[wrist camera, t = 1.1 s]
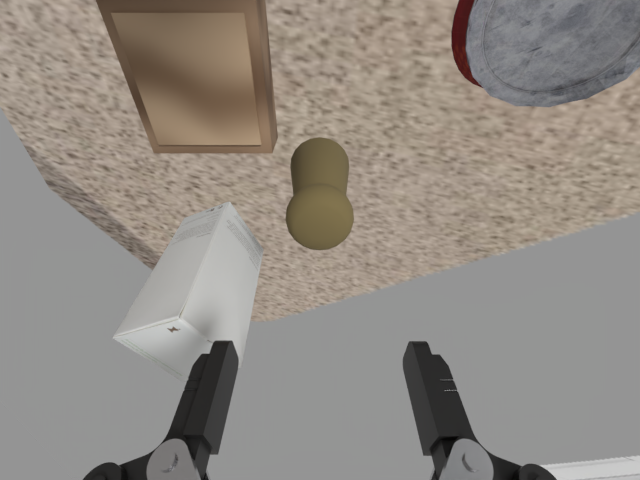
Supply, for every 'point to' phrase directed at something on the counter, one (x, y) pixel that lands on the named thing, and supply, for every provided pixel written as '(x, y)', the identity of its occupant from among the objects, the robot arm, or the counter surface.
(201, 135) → the base
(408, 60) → the counter surface
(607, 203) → the counter surface
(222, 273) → the skincare box
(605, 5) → the canned food
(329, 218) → the olive knobbed peg
